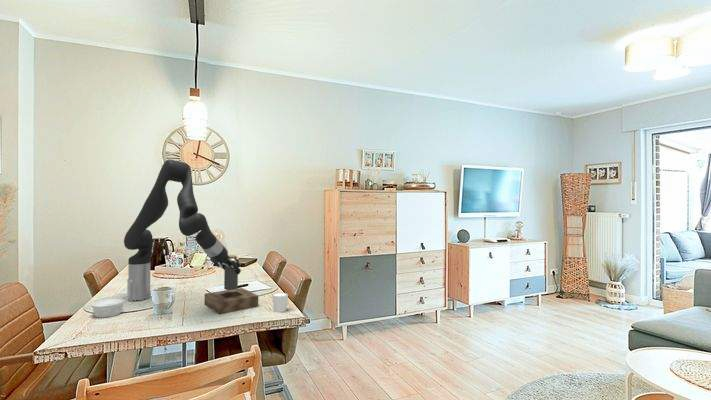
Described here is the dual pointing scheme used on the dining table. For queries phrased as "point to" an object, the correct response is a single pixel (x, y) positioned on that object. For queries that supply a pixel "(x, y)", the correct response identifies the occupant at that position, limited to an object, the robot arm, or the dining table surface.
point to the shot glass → (280, 302)
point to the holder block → (231, 300)
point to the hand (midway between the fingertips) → (233, 271)
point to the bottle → (230, 277)
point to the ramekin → (107, 307)
